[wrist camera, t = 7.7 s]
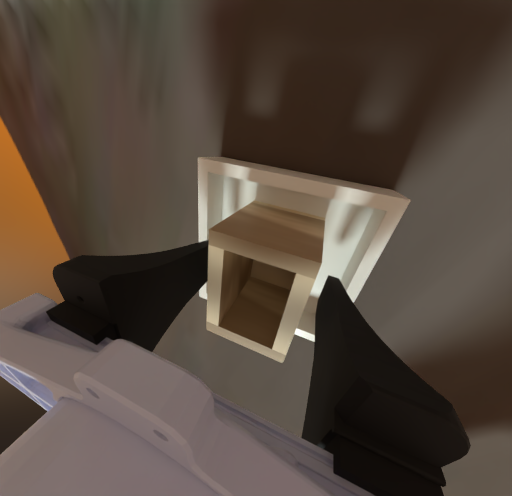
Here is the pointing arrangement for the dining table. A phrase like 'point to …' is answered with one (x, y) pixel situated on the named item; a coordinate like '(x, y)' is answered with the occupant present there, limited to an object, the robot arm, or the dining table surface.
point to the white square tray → (311, 202)
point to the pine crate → (262, 275)
